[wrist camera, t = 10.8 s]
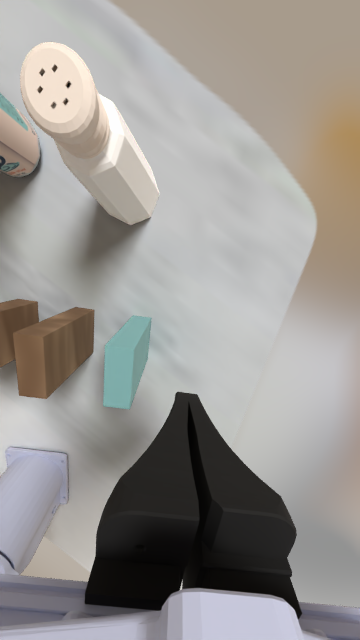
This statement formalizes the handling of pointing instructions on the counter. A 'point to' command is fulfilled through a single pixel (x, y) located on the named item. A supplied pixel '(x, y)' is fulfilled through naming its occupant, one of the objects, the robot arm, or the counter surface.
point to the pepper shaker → (88, 132)
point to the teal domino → (125, 362)
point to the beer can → (17, 142)
